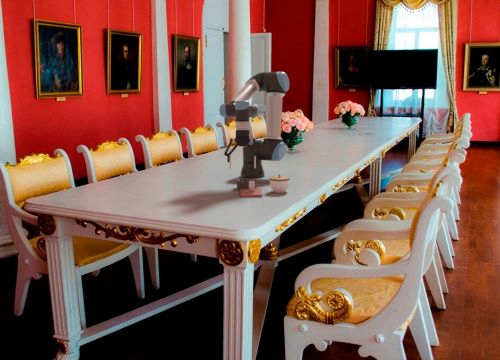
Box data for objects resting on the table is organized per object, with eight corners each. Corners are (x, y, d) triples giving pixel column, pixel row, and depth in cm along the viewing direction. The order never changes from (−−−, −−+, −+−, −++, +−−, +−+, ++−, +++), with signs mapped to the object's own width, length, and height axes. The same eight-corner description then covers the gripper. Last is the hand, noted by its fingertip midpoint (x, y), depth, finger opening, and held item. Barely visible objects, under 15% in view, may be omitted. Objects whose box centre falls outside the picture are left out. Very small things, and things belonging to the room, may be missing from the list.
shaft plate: (240, 191, 285) (240, 178, 284) (260, 190, 285) (260, 178, 284) (240, 197, 270) (240, 184, 268) (262, 196, 270) (262, 184, 269)
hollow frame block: (237, 187, 295) (236, 178, 294) (249, 187, 295) (249, 178, 294) (236, 190, 287) (236, 181, 286) (249, 190, 287) (249, 180, 286)
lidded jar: (273, 194, 276) (273, 176, 274) (266, 190, 286) (266, 173, 285) (292, 193, 279) (292, 175, 277) (285, 189, 289) (285, 172, 287)
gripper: (219, 129, 281) (219, 169, 285) (265, 129, 282) (265, 168, 285) (219, 129, 289) (220, 167, 292) (265, 128, 289) (265, 167, 293)
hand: (242, 168), depth 289 cm, fingers open, 13 cm apart
